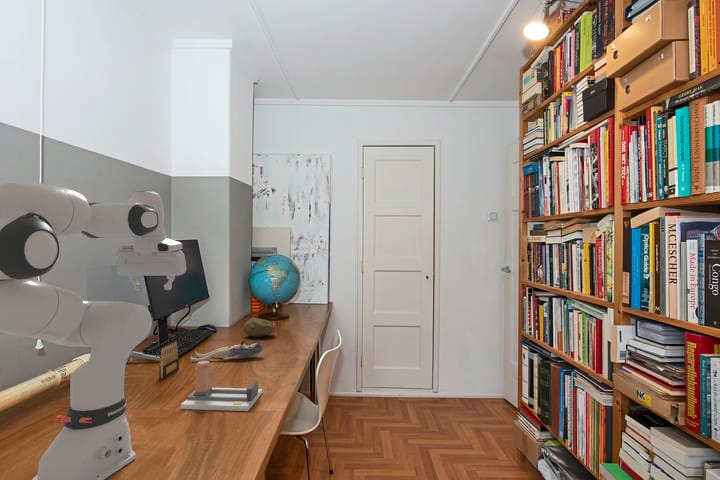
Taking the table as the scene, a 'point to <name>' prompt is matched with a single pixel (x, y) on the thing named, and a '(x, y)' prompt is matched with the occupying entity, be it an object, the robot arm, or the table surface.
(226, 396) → the rail board
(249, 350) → the anime figure
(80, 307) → the robot arm
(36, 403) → the table surface
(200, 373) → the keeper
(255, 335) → the decorative stone
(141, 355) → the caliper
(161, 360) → the ammunition clip
